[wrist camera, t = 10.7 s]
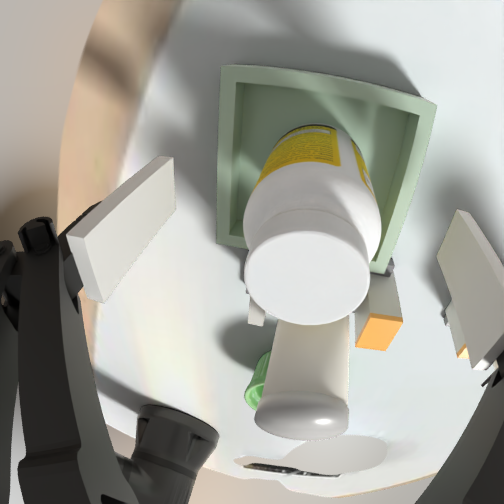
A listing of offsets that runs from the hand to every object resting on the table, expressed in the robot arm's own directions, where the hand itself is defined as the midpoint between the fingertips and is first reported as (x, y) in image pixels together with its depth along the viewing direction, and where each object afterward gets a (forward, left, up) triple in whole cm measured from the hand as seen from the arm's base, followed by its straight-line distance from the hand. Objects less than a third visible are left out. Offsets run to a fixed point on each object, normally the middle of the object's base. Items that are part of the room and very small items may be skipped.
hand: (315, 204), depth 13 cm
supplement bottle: (0, 0, -5) cm, 5 cm away
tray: (0, 0, -5) cm, 5 cm away
